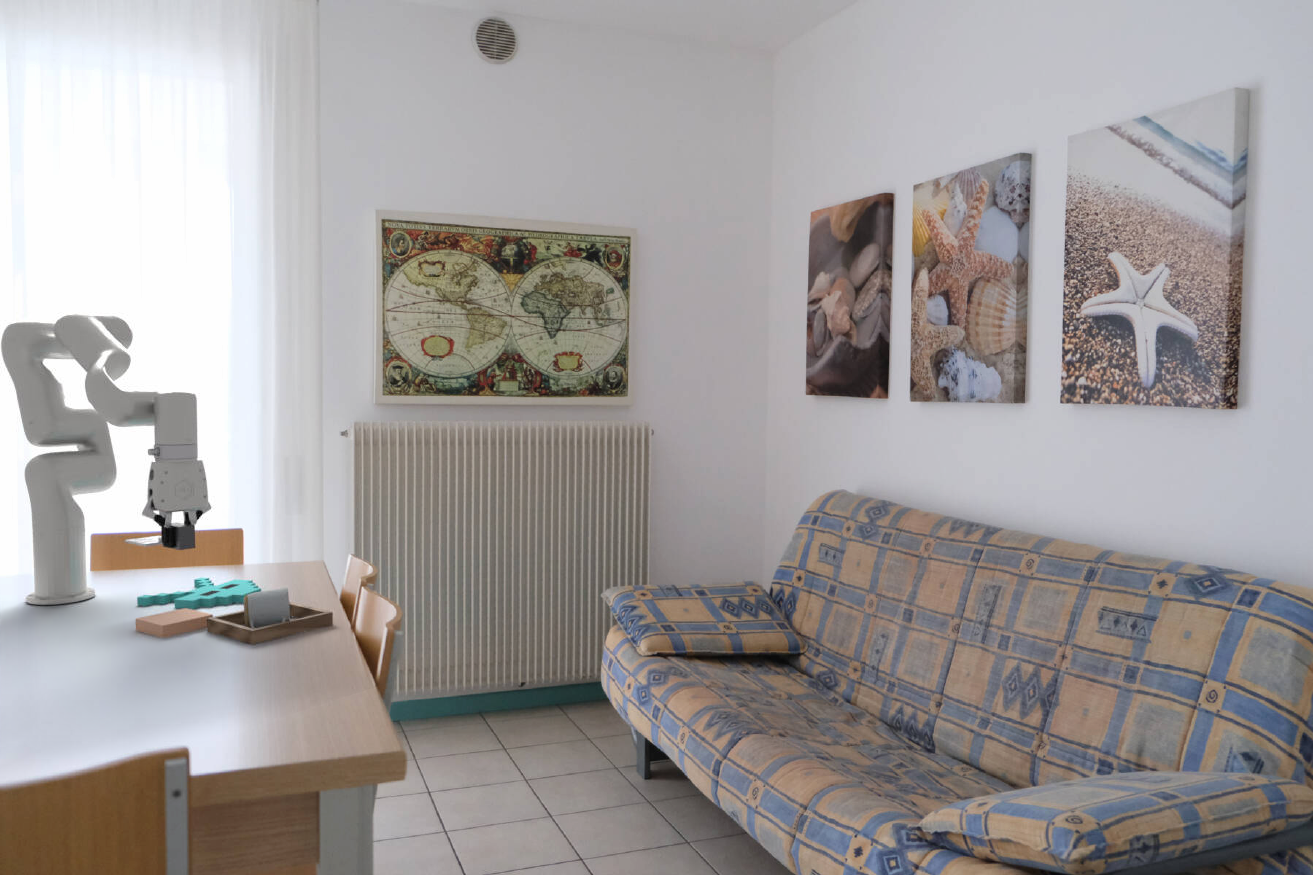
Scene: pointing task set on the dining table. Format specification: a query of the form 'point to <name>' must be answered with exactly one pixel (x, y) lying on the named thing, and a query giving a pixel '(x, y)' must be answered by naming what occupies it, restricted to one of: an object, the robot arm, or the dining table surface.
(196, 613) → the block
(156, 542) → the dark grey pieces
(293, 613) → the wooden tray
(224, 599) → the alien figure
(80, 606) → the dining table surface
